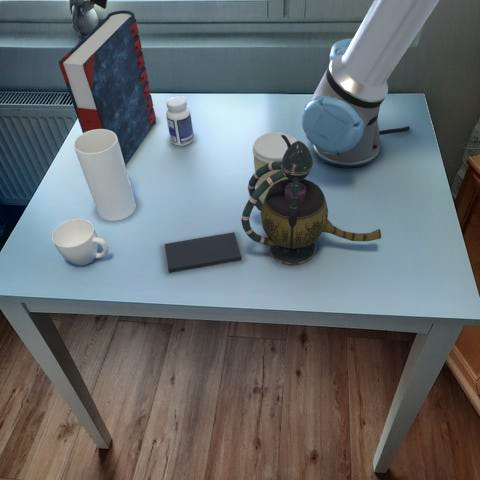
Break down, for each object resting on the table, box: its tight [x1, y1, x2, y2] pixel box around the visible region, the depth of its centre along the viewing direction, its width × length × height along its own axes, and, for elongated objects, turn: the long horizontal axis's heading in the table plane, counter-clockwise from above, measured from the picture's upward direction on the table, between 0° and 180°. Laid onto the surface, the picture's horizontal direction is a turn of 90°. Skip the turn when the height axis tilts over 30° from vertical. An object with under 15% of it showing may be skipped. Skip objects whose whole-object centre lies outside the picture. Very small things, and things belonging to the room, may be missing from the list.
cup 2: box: [51, 218, 109, 266], centre depth 89 cm, size 8×10×7 cm
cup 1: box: [73, 129, 137, 222], centre depth 95 cm, size 8×8×16 cm
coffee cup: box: [251, 131, 298, 203], centre depth 97 cm, size 9×9×12 cm
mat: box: [164, 231, 242, 274], centre depth 91 cm, size 14×7×1 cm, turn 101°
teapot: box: [240, 135, 382, 266], centre depth 82 cm, size 12×25×23 cm, turn 82°
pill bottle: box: [165, 95, 195, 147], centre depth 112 cm, size 6×6×10 cm
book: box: [58, 10, 157, 167], centre depth 106 cm, size 25×7×25 cm, turn 164°
